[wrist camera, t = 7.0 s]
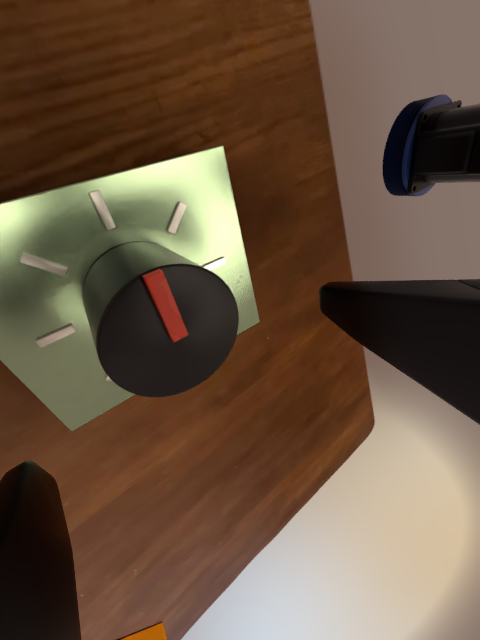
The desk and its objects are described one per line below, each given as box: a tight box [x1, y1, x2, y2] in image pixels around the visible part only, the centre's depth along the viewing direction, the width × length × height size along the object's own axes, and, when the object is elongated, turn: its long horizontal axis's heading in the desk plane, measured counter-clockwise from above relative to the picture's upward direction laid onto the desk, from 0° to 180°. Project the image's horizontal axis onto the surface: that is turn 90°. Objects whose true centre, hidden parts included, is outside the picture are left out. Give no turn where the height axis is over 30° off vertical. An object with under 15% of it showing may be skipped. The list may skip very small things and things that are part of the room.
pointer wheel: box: [83, 242, 239, 397], centre depth 11 cm, size 5×5×5 cm
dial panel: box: [0, 145, 260, 431], centre depth 13 cm, size 12×10×3 cm
